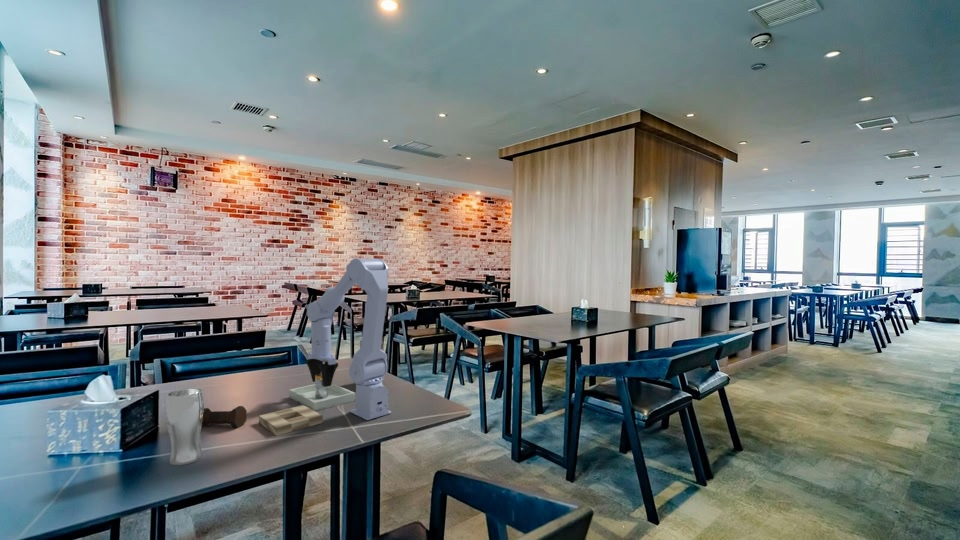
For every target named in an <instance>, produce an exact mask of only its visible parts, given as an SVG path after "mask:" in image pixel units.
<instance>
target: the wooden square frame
mask: <svg viewBox="0 0 960 540" xmlns="http://www.w3.org/2000/svg"><path fill="white" fill-rule="evenodd" d="M323 419H324V418H323V415H322V414H320V413H319V412H317V411H314V410H312V409H310V408H308V407H306V406H304V405H302V404H301V405H297V406H293V407H290V408H285V409H281V410H276V411H274V412H273V411H271V412H268V413H265V414H260V415H258V421H259V422H258V424H260V425H261V426H263V427H264V428H265V429H267V430H268V431H270V432H271V433H272V434H274V435H275V436H280V435H284V434H287V433H291V432H296V431H298V429H299V430H301V429H306V428H308V427H312V426H316V425H320V424H323V423H324V422H323Z"/></svg>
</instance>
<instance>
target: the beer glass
mask: <svg viewBox="0 0 960 540" xmlns="http://www.w3.org/2000/svg"><path fill="white" fill-rule="evenodd" d="M165 402H166V403H165V421H166V427H167V431H168V436H169V440H170V447H171V448H170V456H169V461H168V462H169V464H170V465H171V466H179V467H180V466H185V465H189V464H193V463H195V462H198V461H200V459H202V457H203V450H202V447H201V433H202V428H203V427H202V423H203V416H204V408H205V405H204V395H203V388H201V387H185V388H180V389H174V390H172V391H169V392H167V394H166V400H165Z"/></svg>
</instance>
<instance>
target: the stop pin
mask: <svg viewBox="0 0 960 540" xmlns="http://www.w3.org/2000/svg"><path fill="white" fill-rule="evenodd" d="M314 384H315V398H316V399H324V398H327V397H328V389H327V387H324V385H323V379H322V373H321V374H317V375H315V382H314Z"/></svg>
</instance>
